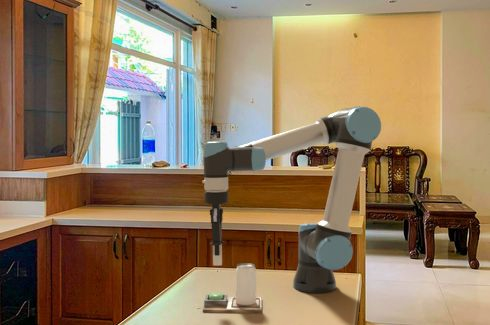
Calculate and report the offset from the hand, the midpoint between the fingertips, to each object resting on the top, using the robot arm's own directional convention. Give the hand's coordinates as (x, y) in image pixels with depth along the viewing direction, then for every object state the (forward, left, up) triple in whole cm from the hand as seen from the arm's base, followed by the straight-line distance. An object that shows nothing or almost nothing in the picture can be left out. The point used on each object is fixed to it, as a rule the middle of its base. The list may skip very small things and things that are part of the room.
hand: (217, 264), depth 162 cm
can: (-9, 0, -12) cm, 15 cm away
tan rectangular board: (-5, 0, -13) cm, 14 cm away
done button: (0, 0, -12) cm, 12 cm away
